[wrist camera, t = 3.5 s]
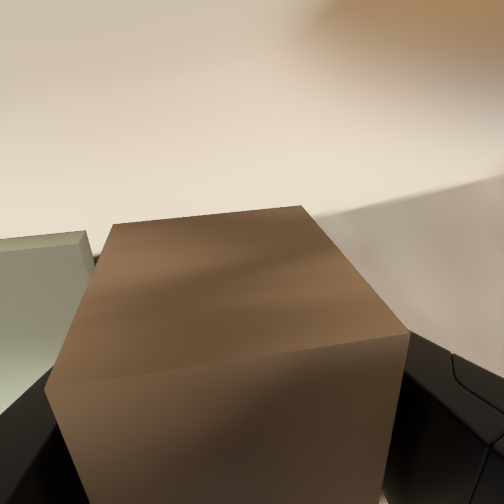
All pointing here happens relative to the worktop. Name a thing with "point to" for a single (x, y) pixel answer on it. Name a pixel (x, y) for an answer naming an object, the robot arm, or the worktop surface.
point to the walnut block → (228, 366)
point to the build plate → (38, 304)
